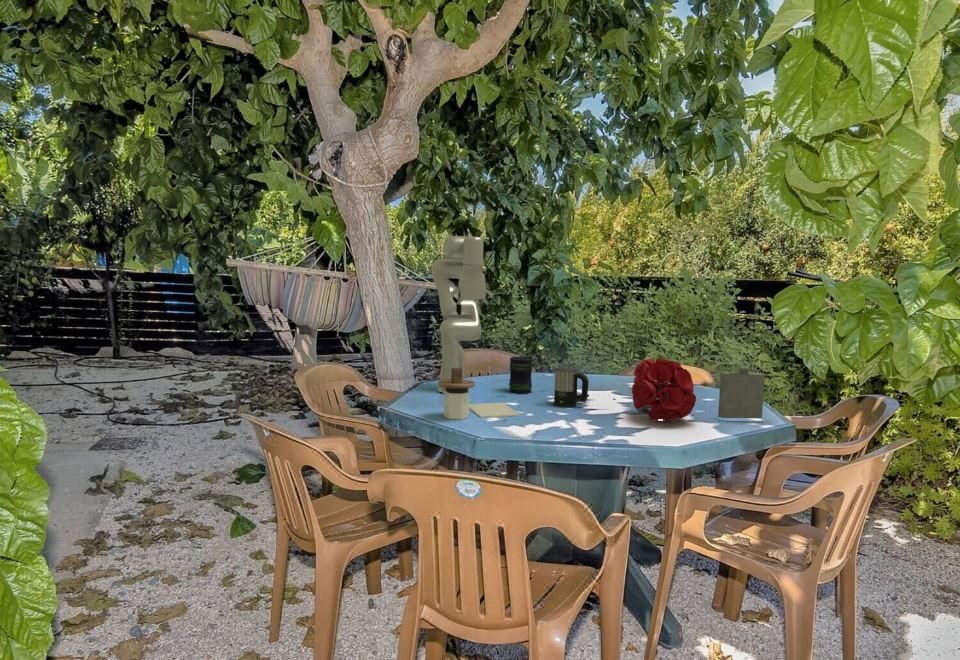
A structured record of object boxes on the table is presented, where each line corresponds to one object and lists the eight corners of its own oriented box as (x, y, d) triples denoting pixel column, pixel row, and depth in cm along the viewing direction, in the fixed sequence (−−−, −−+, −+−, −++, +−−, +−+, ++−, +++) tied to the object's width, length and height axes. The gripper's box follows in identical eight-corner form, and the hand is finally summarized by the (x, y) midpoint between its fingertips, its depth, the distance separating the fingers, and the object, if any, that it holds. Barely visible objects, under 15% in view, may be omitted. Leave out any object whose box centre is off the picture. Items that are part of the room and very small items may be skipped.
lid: (434, 382, 224) (435, 366, 223) (469, 381, 228) (469, 365, 227) (442, 389, 212) (443, 372, 211) (479, 388, 215) (479, 371, 215)
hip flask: (759, 419, 228) (763, 366, 226) (764, 422, 224) (768, 368, 222) (716, 419, 228) (719, 365, 225) (720, 421, 223) (724, 367, 221)
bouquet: (617, 430, 234) (646, 407, 207) (614, 372, 244) (641, 342, 217) (672, 434, 236) (708, 412, 209) (666, 376, 246) (700, 347, 219)
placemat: (465, 405, 240) (465, 404, 239) (502, 404, 244) (502, 402, 244) (480, 418, 221) (480, 416, 220) (520, 416, 225) (520, 414, 225)
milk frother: (552, 407, 241) (553, 369, 240) (554, 398, 257) (555, 363, 255) (589, 409, 239) (590, 371, 237) (588, 400, 254) (590, 365, 253)
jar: (441, 415, 224) (441, 382, 222) (461, 413, 227) (462, 381, 226) (450, 421, 215) (451, 387, 214) (471, 419, 219) (472, 385, 218)
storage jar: (509, 389, 274) (510, 356, 272) (531, 390, 273) (532, 357, 271) (508, 393, 264) (509, 359, 262) (531, 394, 263) (532, 360, 261)
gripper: (491, 269, 239) (490, 313, 241) (448, 268, 234) (447, 313, 236) (497, 270, 232) (496, 315, 234) (452, 269, 227) (451, 315, 229)
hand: (471, 314), depth 235 cm, fingers open, 9 cm apart
